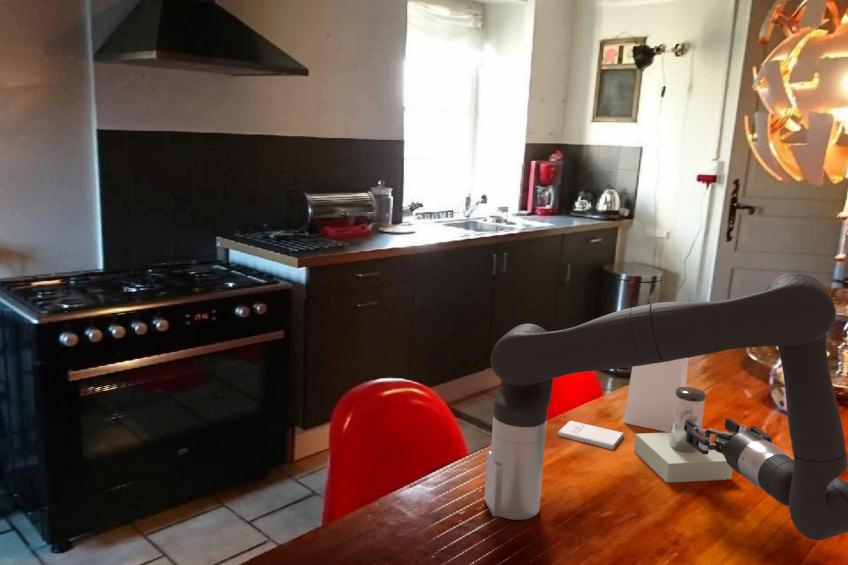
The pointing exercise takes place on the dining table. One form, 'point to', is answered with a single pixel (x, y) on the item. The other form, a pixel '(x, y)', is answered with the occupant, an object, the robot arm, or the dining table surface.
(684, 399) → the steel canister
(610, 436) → the external hard drive
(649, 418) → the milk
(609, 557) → the dining table surface
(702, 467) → the stand
